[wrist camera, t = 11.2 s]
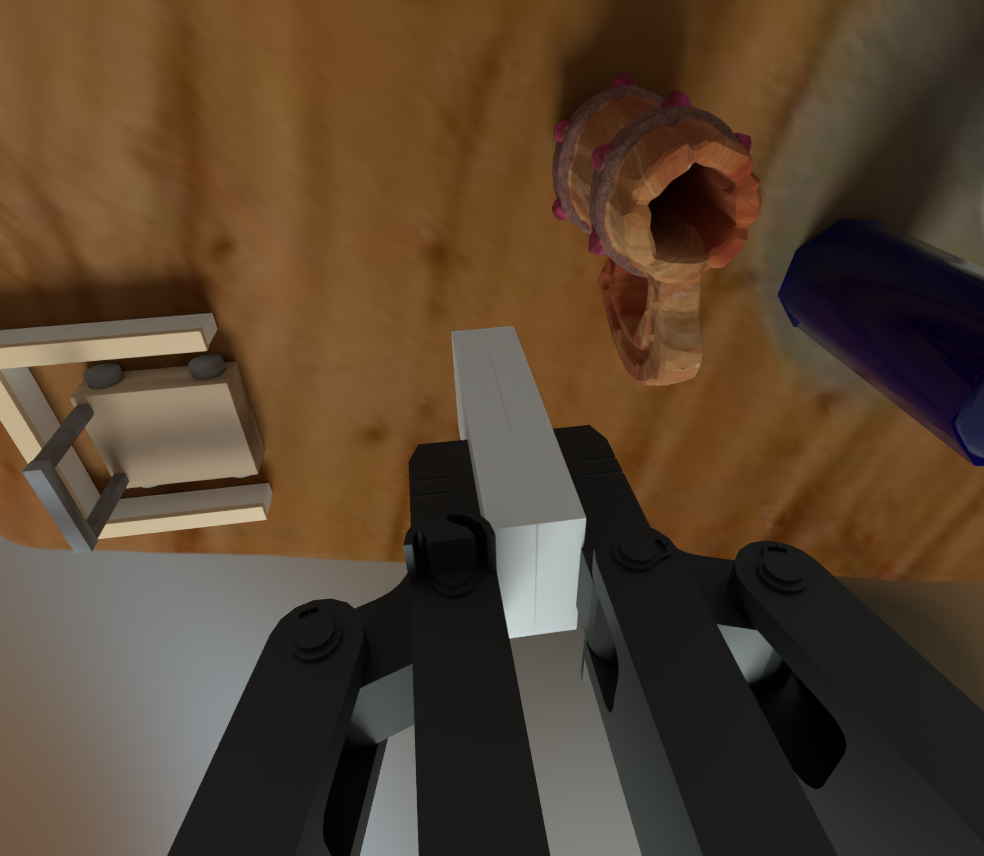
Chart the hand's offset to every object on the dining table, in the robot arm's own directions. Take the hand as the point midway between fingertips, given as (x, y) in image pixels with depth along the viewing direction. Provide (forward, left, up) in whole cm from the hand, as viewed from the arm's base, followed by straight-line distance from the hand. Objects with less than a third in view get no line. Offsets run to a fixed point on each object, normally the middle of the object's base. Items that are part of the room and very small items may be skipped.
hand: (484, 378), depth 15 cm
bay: (+17, -22, -26) cm, 38 cm away
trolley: (+17, -20, -27) cm, 37 cm away
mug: (+3, +11, -27) cm, 29 cm away
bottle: (+10, +30, -27) cm, 41 cm away
